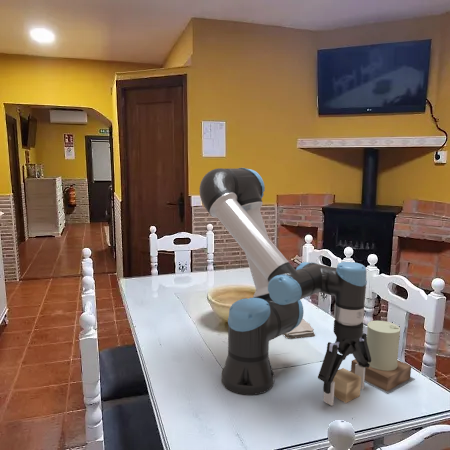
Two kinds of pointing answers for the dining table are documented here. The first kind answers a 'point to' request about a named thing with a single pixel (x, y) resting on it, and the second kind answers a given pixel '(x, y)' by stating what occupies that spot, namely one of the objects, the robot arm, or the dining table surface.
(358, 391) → the cube
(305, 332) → the washcloth
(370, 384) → the mat
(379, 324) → the can
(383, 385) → the slab
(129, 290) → the dining table surface
